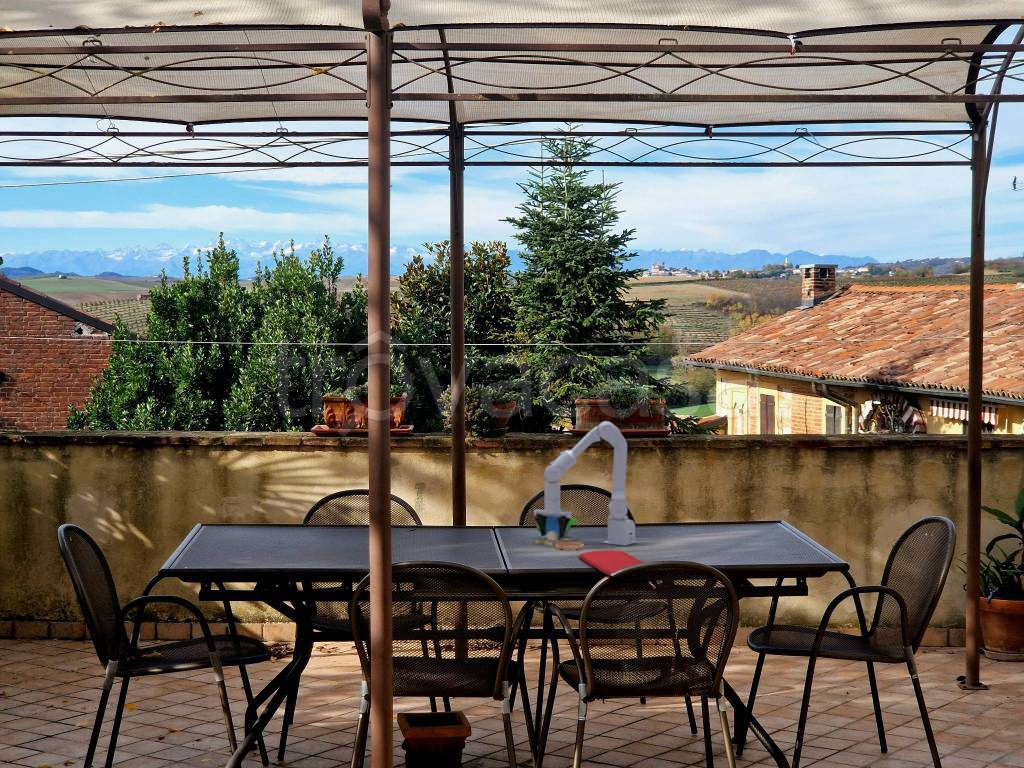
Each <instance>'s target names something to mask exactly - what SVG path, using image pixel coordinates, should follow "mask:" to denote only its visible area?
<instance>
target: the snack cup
mask: <svg viewBox="0 0 1024 768" xmlns="http://www.w3.org/2000/svg"><path fill="white" fill-rule="evenodd" d="M560 511H564V509H561V508H560ZM549 515H556V514H549ZM558 518H561V517H554V516H547V521H546V535H547V534H548V532H549V531H555V532H556V533H557V534H558V537H559V538H560V536H559V523H558ZM572 525H577V527H579V525H580V524H579V518H578V519H577V518H574V517H571V518H570V521H569V522H568V525H567V527H566V530H565V534H564V537H566V536H567V535H568V534H569V533H570V531H571V526H572ZM536 529H537V531H538V532H540V528H539V526H538V523H537V522H536Z"/></svg>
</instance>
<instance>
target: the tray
mask: <svg viewBox="0 0 1024 768" xmlns="http://www.w3.org/2000/svg"><path fill="white" fill-rule="evenodd" d="M562 542H572V538H566V537H562V538H560V537H558V538H557V540H556V541H554V542H551V541H549V540H548V539H547V537H544V538H540V539H539V538H538V539H535V540H533V545H539V544H541V545H542V546H547V545H549V546H548V547H555V544H557V543H562ZM541 545H540V546H541Z"/></svg>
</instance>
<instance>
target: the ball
mask: <svg viewBox="0 0 1024 768" xmlns="http://www.w3.org/2000/svg"><path fill="white" fill-rule="evenodd" d="M546 538H547V539H548V540H549V541H551V542H554V541H556V540H557V538H558V534H557V533H556V532H555V531H549V532H548V534H546Z"/></svg>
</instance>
